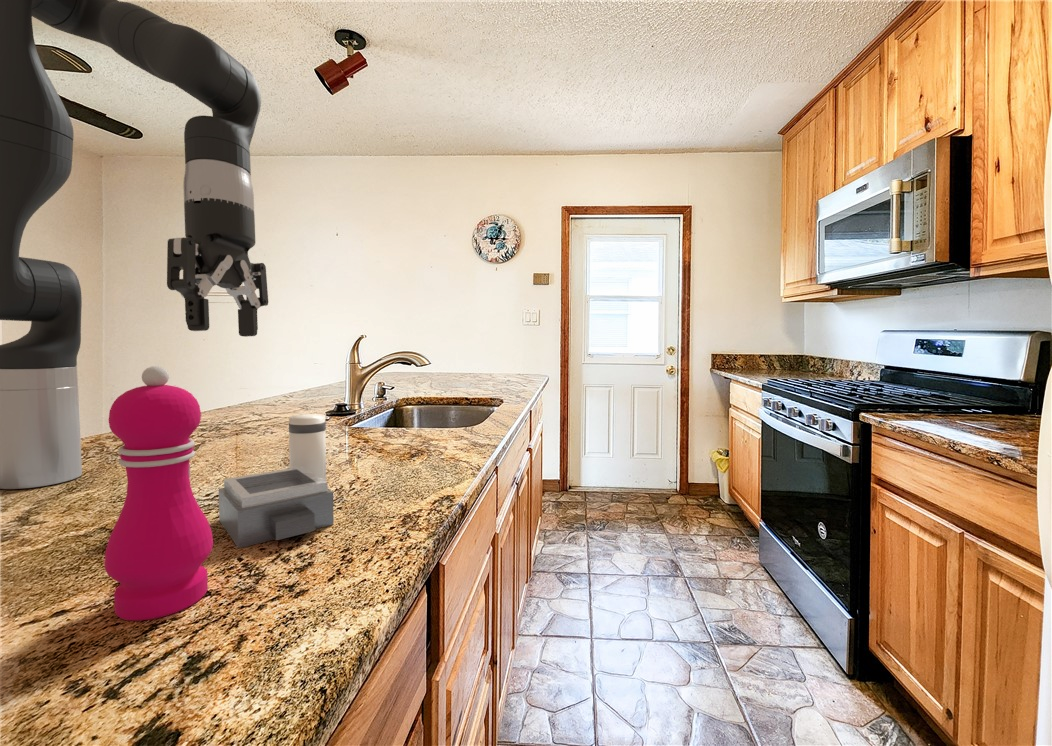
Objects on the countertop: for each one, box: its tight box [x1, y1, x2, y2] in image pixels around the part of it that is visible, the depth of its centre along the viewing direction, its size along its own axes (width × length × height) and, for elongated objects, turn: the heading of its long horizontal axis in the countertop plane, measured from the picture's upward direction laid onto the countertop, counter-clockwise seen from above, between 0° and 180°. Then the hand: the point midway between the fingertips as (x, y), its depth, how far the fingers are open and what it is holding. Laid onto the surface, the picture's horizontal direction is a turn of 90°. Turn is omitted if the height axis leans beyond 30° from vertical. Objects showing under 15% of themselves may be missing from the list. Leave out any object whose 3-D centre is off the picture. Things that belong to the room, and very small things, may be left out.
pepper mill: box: [104, 365, 214, 622], centre depth 39 cm, size 7×7×20 cm
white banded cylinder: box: [288, 413, 327, 482], centre depth 69 cm, size 5×5×11 cm
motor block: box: [218, 467, 335, 549], centre depth 56 cm, size 12×10×5 cm
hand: (225, 333), depth 60 cm, fingers open, 8 cm apart
